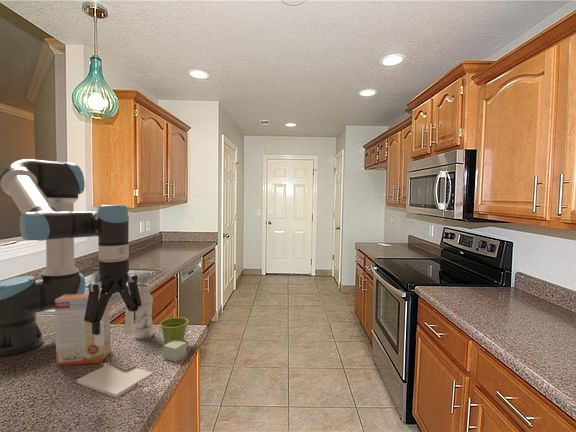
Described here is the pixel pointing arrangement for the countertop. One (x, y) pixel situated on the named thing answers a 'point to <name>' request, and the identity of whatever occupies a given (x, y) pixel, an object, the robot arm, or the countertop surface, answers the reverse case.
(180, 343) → the sage block
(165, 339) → the plant pot
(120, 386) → the board
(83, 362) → the cracker box
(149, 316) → the plastic bottle
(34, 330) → the robot arm
